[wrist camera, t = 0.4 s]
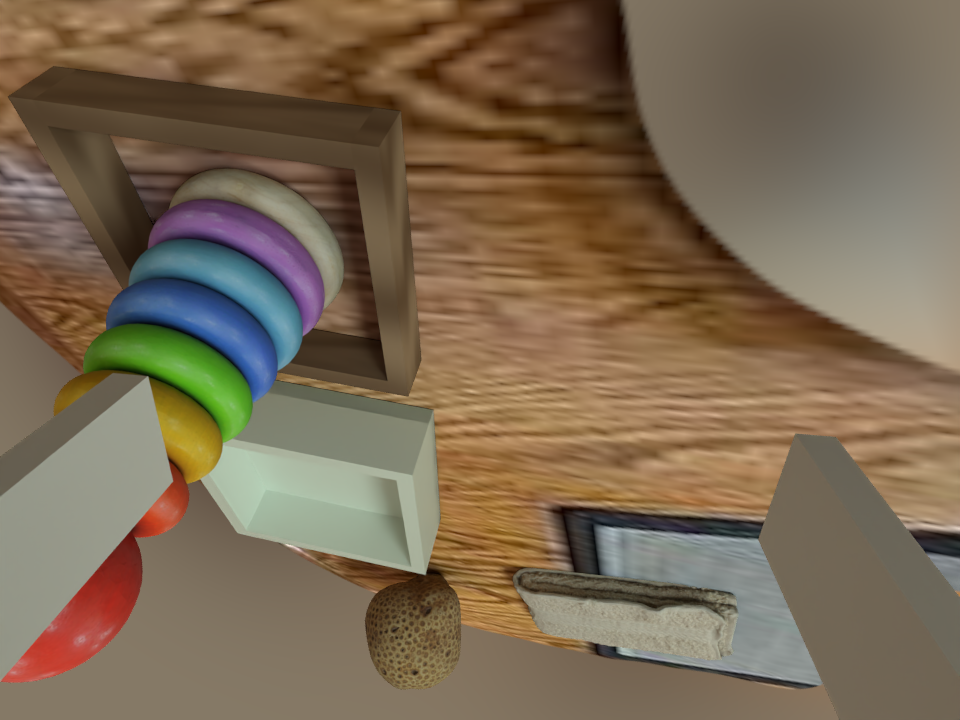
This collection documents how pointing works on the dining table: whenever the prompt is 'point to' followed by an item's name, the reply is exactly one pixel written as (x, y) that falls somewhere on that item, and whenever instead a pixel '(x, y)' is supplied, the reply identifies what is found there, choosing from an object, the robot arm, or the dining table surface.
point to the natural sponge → (415, 631)
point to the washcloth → (630, 612)
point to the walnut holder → (246, 130)
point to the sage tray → (334, 476)
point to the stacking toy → (195, 360)
